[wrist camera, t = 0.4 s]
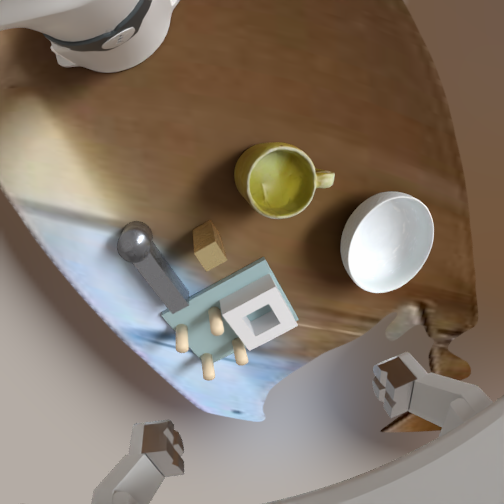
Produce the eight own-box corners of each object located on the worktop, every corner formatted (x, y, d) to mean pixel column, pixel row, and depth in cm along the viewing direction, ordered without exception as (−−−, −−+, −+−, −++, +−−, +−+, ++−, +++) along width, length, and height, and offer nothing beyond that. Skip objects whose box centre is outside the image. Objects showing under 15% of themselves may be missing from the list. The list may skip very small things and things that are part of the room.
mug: (219, 214, 44) (250, 216, 35) (226, 141, 42) (258, 125, 33) (295, 221, 49) (337, 225, 40) (301, 156, 48) (343, 147, 39)
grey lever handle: (116, 231, 44) (110, 242, 40) (141, 215, 43) (137, 225, 40) (169, 301, 50) (168, 316, 47) (192, 288, 50) (193, 302, 46)
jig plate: (161, 312, 51) (160, 335, 45) (263, 256, 50) (273, 275, 44) (206, 362, 57) (209, 385, 52) (296, 316, 56) (307, 337, 51)
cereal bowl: (319, 273, 53) (335, 295, 47) (340, 176, 47) (363, 188, 40) (396, 274, 57) (416, 293, 51) (420, 191, 50) (446, 203, 44)
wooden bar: (192, 229, 46) (194, 253, 39) (210, 219, 46) (215, 241, 39) (203, 245, 47) (206, 271, 40) (220, 236, 47) (227, 260, 40)
